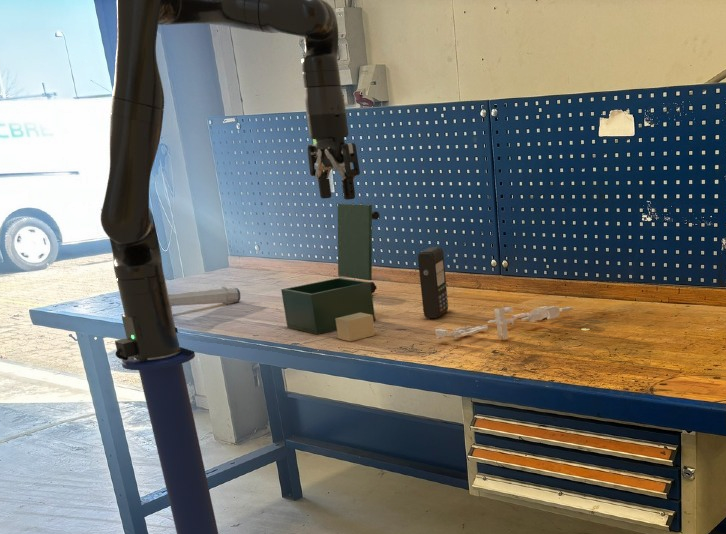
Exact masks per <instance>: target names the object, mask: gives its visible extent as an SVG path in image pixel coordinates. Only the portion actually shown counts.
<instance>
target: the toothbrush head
mask: <svg viewBox="0 0 726 534" xmlns="http://www.w3.org/2000/svg"><path fill="white" fill-rule="evenodd" d="M240 291H241V290H240V289H239V288H238V287H226V286H221V288H213V289H204V290H203V289H202V290H194V291H186V292H177V293H168V296H169V300H170V305H171V310H172V309H173V308H172V307H177V306H178V307H179V306H196V305H210V304H211V305H213V304H223V305H229V303H239V302H240V300H241V292H240Z"/></svg>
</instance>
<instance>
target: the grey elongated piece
mask: <svg viewBox="0 0 726 534" xmlns="http://www.w3.org/2000/svg"><path fill="white" fill-rule="evenodd" d="M573 310H574V308H573V306H567V307H561V308H559V307H558V306H556V305H552V306H549V305H545V306H541V307H535V308H532V309H531V310H530V312H523V313H522V312H521V313H518V314H514V315H510V318H508V319H506V314H513V312H514V308H513V307H512V306H506V307H505V306H504V307H500V308H494V309H493V311H494V317H495V318H494V319H490V320H488V321H487V323H488V324H495V325H496V331H497V337H498V340H499V341H501V340H508V339H509V331H508V326H507V325H510V324H511V326H514V325H515V320H517V319H521V322H525V321H528V322H529V323H535V322H536V321H540V322H541V321H542V320H543V319H546V320H548V321H550V320H554V319H557V318H559V316H560V314H561V312H568V311H573ZM488 324H484V325H478V326H476V327H472V325H471V324H470V325H466V326H461V327H456V328H455V327H453V328H452V331H451V332H449V330H448V329H443V328H442V327H440V328H436V329H434V332H435V333H434V334H435V338H436V340H439V339H443V338H444V337H451V336H453V338H454V339H455V340H457V338H460V337H464V336H468V335H473V334H477V333H478V332H485V331H488V330H489V325H488Z"/></svg>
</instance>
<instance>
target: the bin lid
mask: <svg viewBox="0 0 726 534" xmlns="http://www.w3.org/2000/svg"><path fill="white" fill-rule="evenodd" d="M379 218H380V213H379V211H376V210H375V211H374V210H373V205H372V204H356V203H337V276H338V277H342V278H349V279H356V280H364V281H365V280H366V281H372V280H373V275H372V274H373V266H372V265H373V264H372V263H373V243H372V242H373V220H379Z"/></svg>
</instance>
